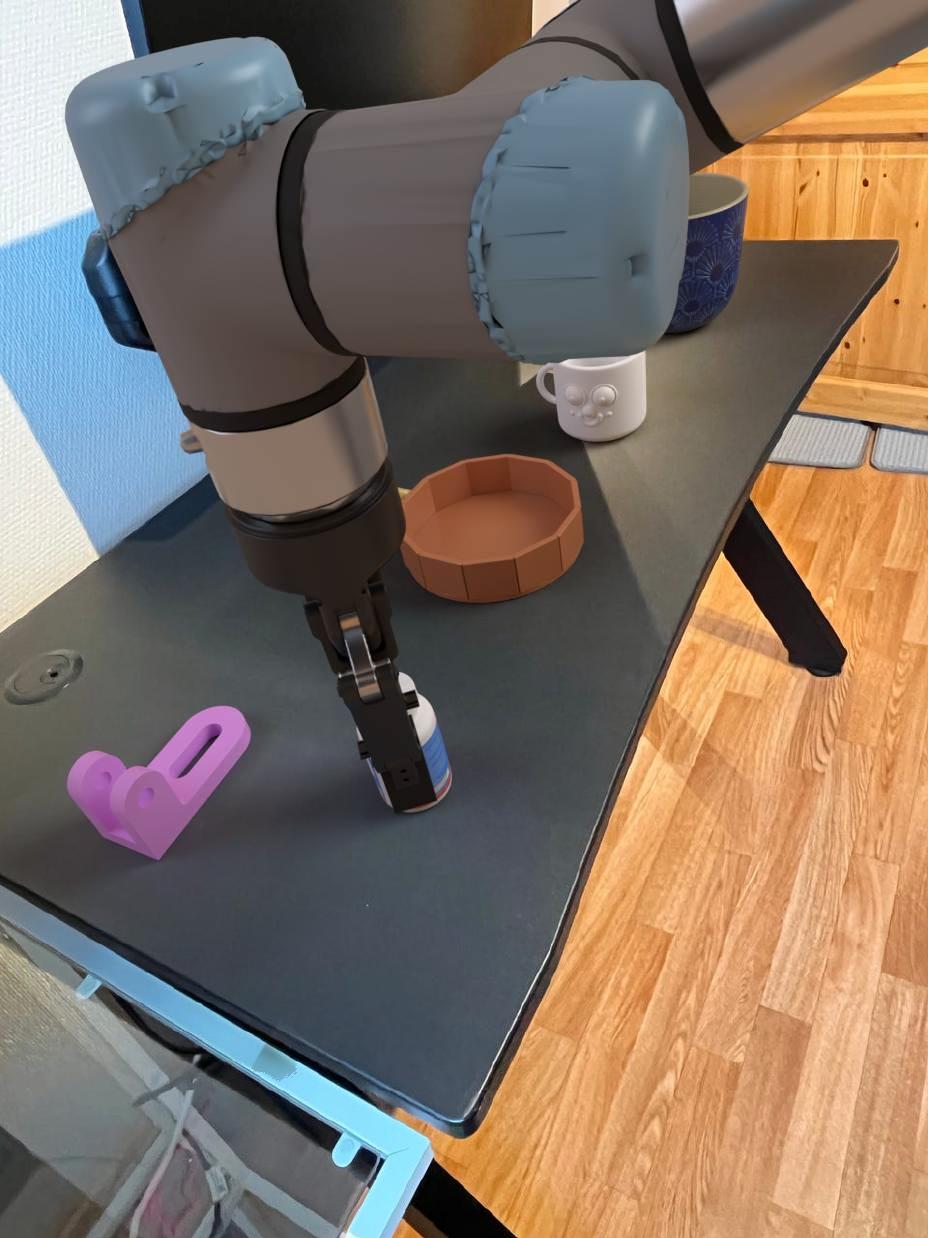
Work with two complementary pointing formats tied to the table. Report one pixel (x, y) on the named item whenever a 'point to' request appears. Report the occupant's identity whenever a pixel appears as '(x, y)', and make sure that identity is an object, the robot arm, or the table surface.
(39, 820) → the table surface
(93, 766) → the bracket
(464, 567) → the pan
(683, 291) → the planter
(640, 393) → the mug
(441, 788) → the pill bottle
